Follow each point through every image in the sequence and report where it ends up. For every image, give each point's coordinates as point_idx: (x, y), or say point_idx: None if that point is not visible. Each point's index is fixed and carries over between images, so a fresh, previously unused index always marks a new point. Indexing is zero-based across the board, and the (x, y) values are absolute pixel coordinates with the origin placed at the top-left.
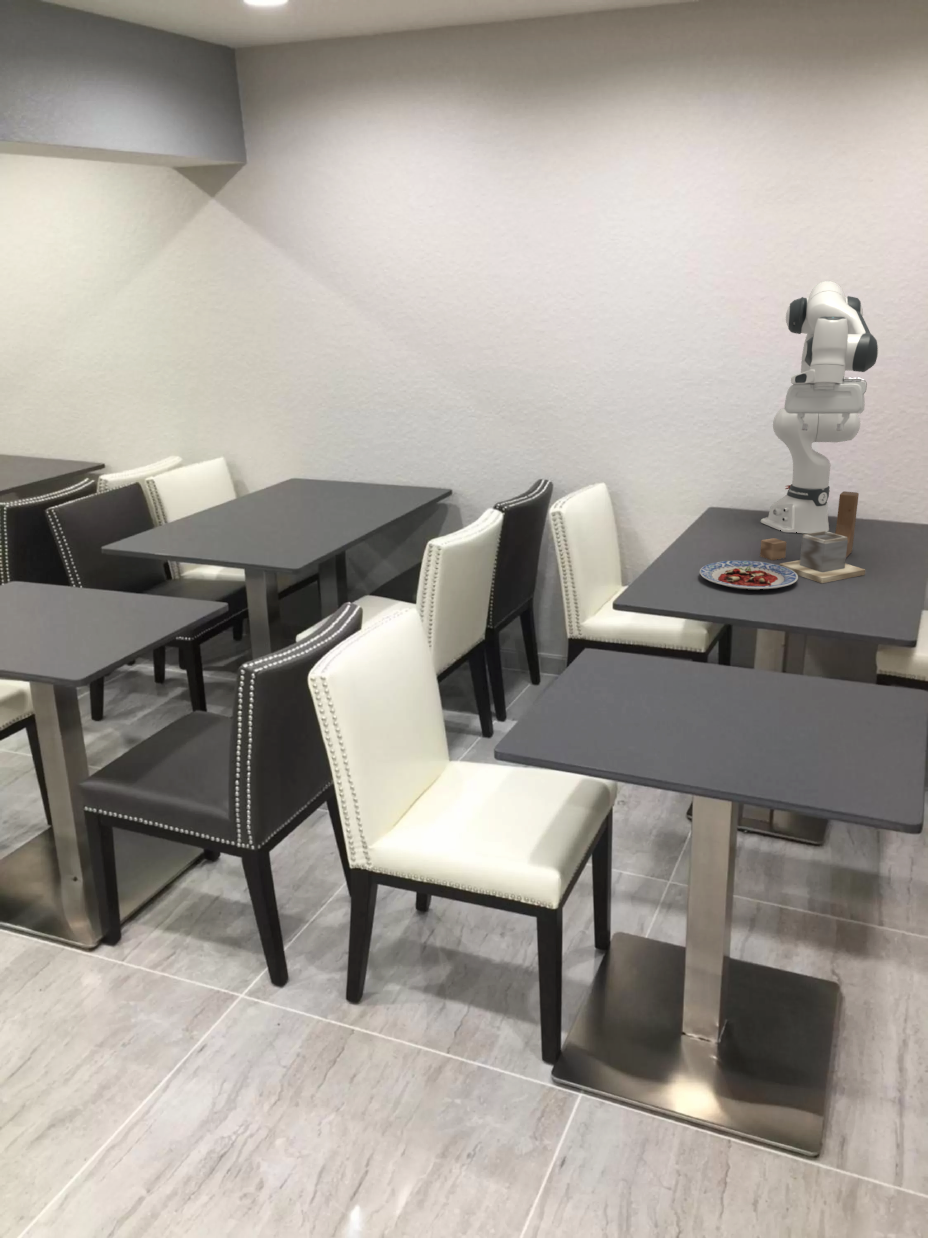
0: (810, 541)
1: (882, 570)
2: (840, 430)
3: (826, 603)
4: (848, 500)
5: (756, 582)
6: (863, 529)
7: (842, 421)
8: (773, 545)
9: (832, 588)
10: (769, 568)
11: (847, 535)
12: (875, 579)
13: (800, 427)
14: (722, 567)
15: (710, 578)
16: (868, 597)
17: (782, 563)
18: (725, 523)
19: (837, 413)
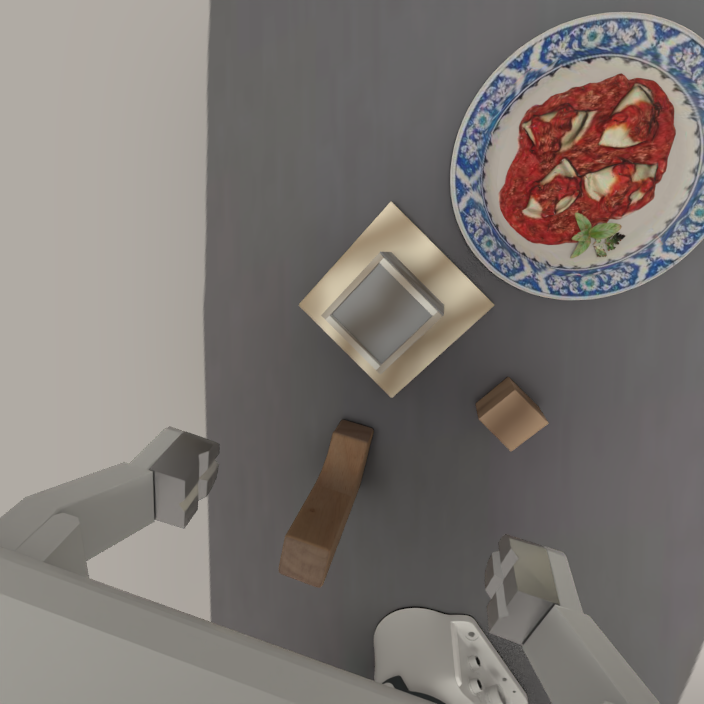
0: (420, 290)
1: (269, 348)
2: (187, 432)
3: (383, 26)
4: (308, 529)
5: (563, 106)
6: (307, 647)
7: (115, 476)
8: (514, 388)
9: (369, 168)
10: (521, 258)
11: (329, 468)
12: (281, 273)
13: (569, 567)
14: (658, 235)
15: None
16: (293, 120)
17: (486, 309)
18: None
19: None
